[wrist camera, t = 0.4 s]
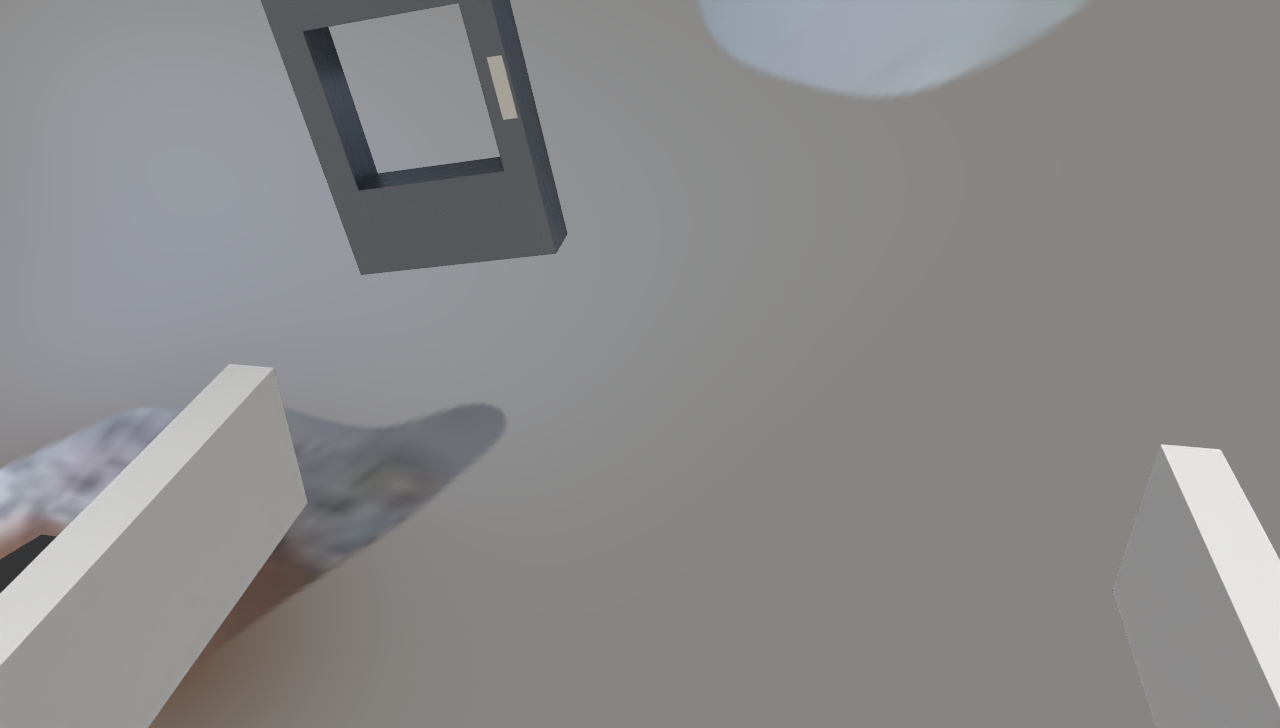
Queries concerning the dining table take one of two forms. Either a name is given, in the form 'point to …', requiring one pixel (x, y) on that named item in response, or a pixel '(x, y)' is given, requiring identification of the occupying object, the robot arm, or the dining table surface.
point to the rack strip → (438, 195)
